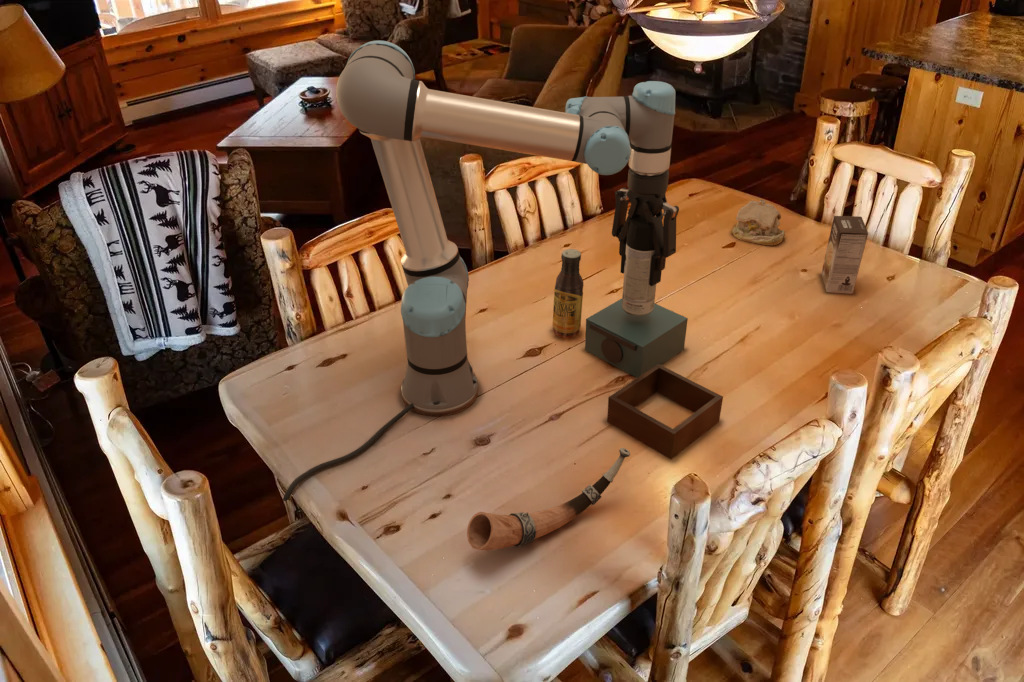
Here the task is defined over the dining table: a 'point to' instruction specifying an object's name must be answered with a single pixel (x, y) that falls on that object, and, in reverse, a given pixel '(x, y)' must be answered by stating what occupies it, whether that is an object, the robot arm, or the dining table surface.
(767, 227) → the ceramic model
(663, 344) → the green block
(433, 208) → the robot arm
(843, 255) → the coffee box
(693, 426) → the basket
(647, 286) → the spray can
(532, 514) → the curved blowing horn
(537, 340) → the dining table surface
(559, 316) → the sauce bottle
